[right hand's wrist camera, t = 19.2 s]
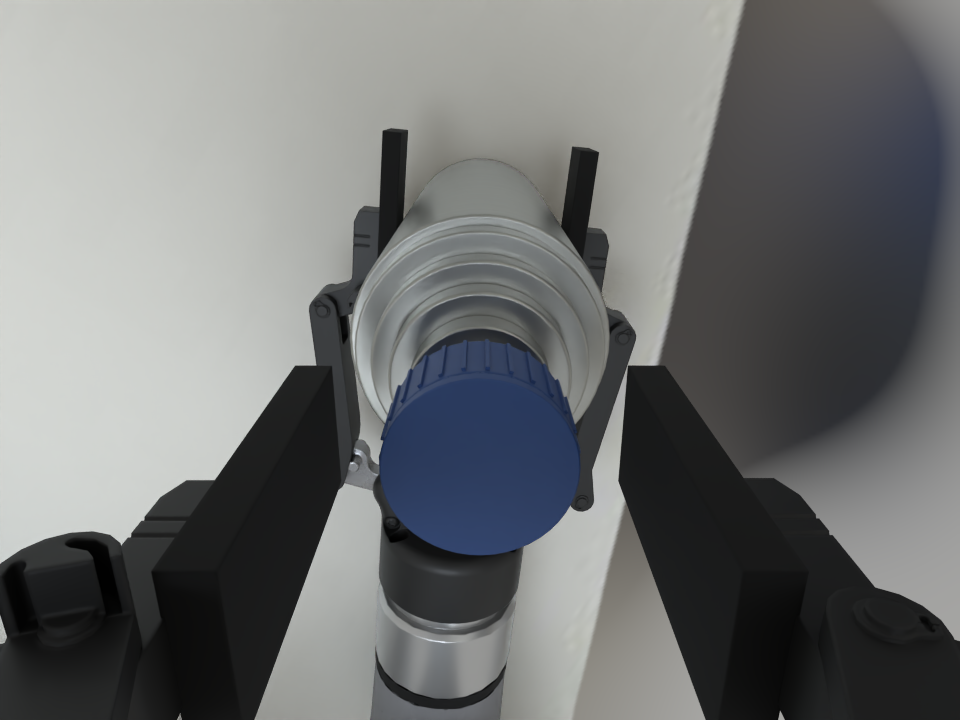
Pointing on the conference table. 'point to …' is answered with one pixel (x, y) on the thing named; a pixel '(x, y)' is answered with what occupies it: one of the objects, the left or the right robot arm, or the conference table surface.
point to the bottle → (479, 286)
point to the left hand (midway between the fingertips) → (490, 140)
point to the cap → (479, 449)
